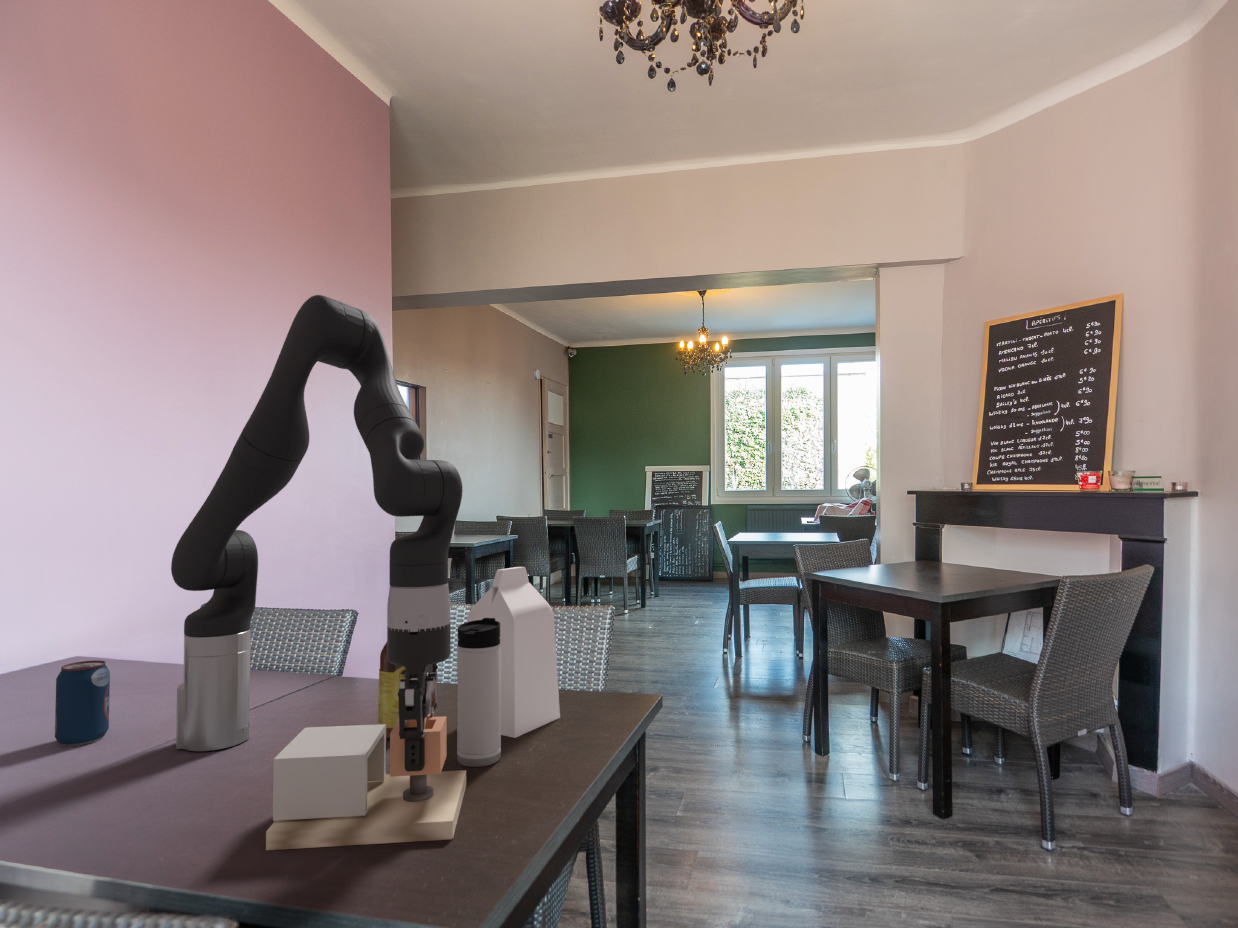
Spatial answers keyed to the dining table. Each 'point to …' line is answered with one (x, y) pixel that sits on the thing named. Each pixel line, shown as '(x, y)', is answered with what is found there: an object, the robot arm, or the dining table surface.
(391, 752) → the ring block
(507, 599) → the milk
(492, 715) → the travel mug
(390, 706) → the sauce bottle
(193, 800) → the dining table surface
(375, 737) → the cover
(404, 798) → the board
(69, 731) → the soda can
